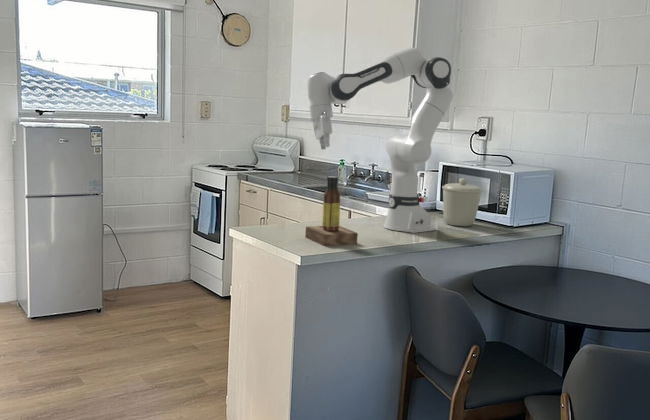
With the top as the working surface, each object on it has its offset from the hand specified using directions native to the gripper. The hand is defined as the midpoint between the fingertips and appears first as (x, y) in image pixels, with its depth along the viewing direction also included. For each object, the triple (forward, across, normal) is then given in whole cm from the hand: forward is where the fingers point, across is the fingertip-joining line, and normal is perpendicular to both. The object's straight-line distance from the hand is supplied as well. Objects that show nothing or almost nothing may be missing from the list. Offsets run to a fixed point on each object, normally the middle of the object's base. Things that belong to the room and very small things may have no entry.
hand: (325, 148), depth 256 cm
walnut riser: (+36, -18, +5) cm, 40 cm away
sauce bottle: (+32, -19, +5) cm, 38 cm away
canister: (+38, +23, -60) cm, 75 cm away
